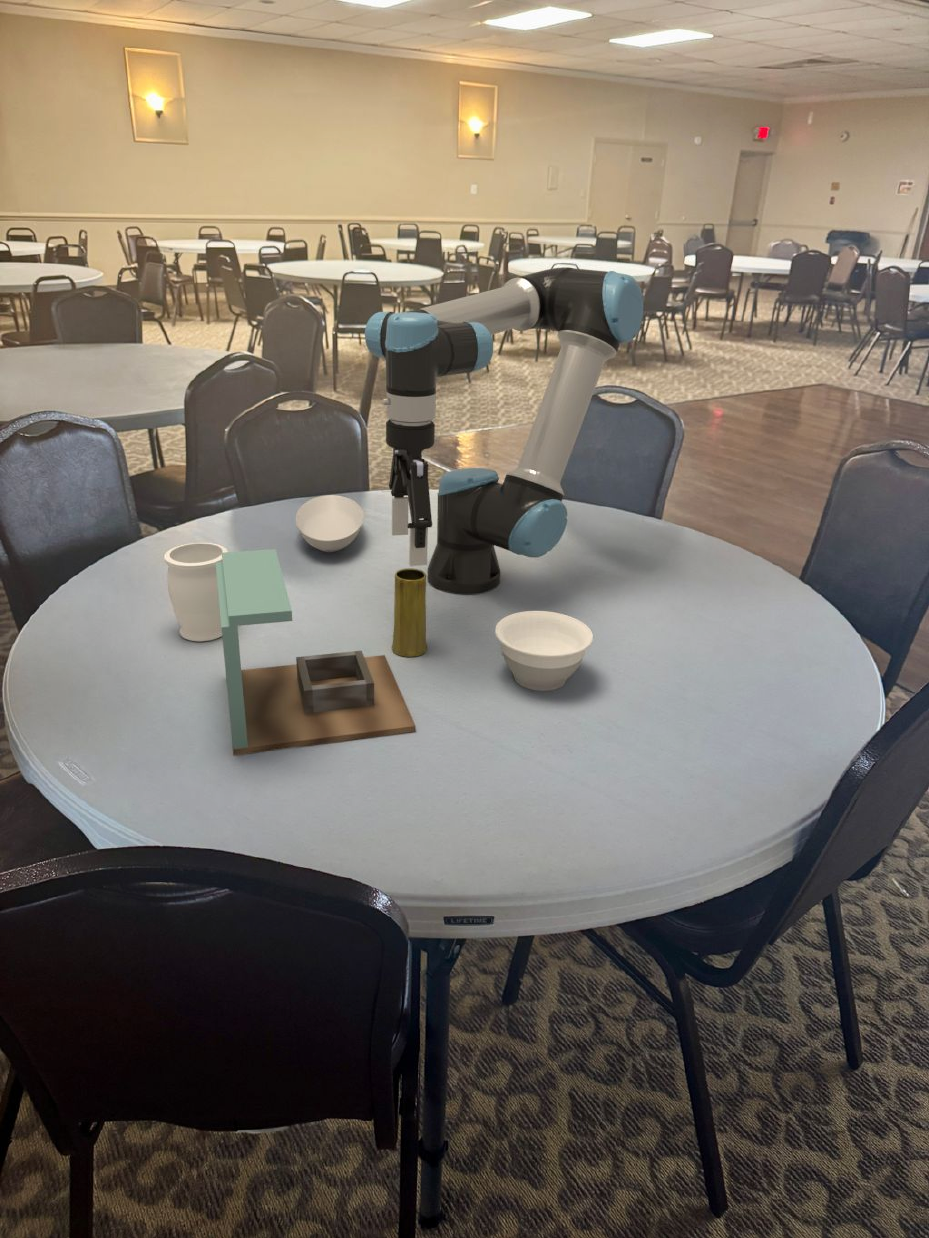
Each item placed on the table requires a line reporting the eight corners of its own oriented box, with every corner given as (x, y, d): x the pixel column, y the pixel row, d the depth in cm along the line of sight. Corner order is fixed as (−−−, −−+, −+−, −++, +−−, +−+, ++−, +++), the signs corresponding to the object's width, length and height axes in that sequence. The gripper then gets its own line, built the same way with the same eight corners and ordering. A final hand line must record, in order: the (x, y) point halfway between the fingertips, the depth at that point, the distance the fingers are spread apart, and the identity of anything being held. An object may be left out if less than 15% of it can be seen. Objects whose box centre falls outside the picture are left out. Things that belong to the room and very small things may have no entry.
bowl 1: (364, 567, 179) (364, 540, 176) (292, 567, 177) (291, 540, 174) (363, 519, 205) (363, 495, 203) (301, 519, 203) (300, 494, 201)
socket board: (384, 660, 143) (384, 634, 141) (415, 731, 124) (415, 702, 122) (226, 676, 136) (223, 649, 134) (233, 755, 117) (230, 725, 115)
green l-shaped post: (282, 665, 138) (275, 549, 129) (298, 740, 119) (291, 610, 110) (225, 671, 135) (214, 553, 126) (233, 749, 117) (220, 616, 108)
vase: (413, 661, 143) (415, 584, 137) (384, 650, 146) (384, 575, 140) (433, 647, 148) (435, 572, 142) (405, 637, 151) (406, 564, 144)
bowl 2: (523, 711, 131) (527, 663, 127) (475, 664, 143) (477, 619, 139) (607, 690, 137) (613, 644, 134) (553, 647, 150) (558, 604, 146)
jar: (218, 649, 144) (210, 568, 137) (162, 641, 146) (151, 560, 139) (244, 622, 153) (238, 545, 147) (192, 615, 155) (183, 538, 148)
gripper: (371, 402, 139) (372, 524, 148) (403, 441, 118) (402, 580, 127) (415, 402, 141) (413, 521, 150) (455, 440, 120) (450, 577, 129)
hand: (408, 549), depth 139 cm, fingers open, 13 cm apart
